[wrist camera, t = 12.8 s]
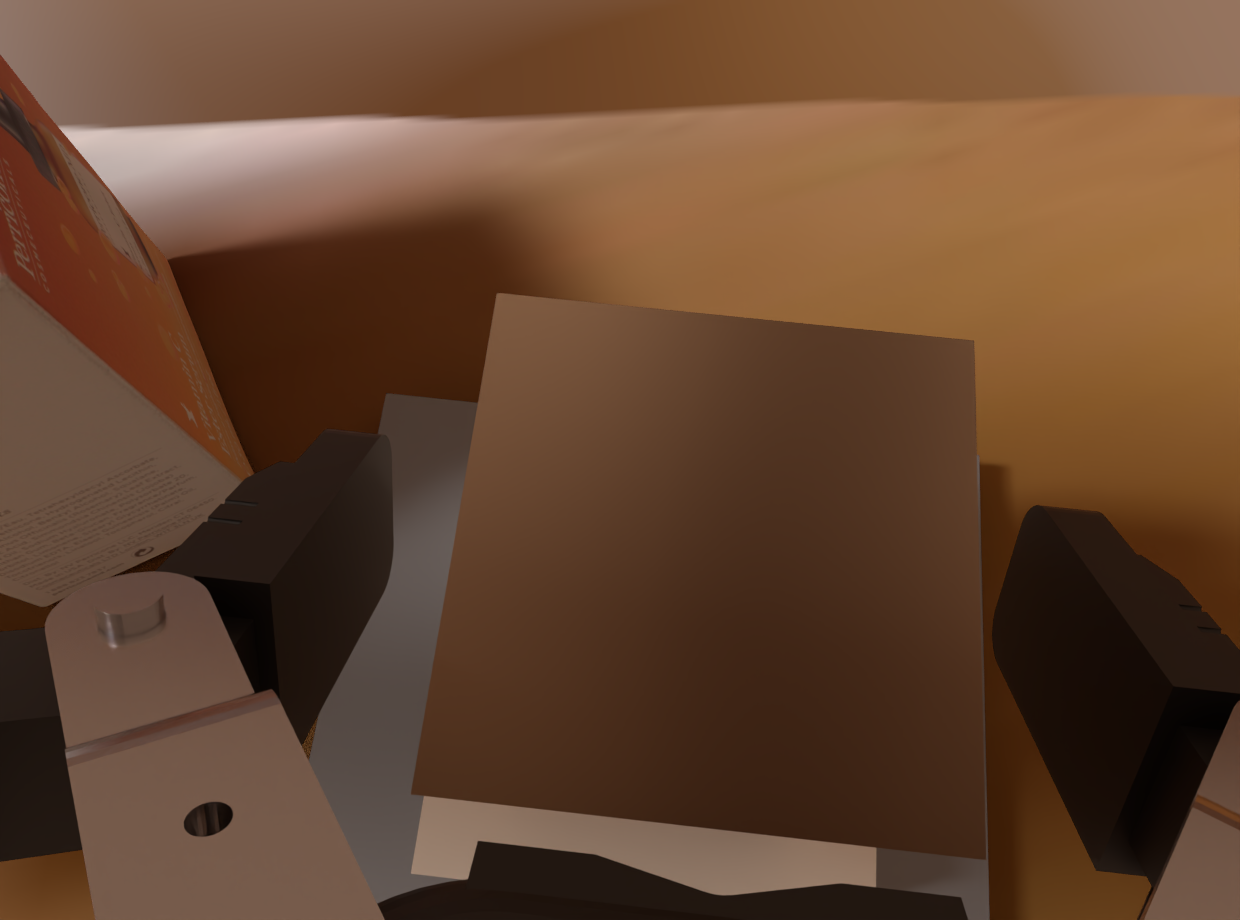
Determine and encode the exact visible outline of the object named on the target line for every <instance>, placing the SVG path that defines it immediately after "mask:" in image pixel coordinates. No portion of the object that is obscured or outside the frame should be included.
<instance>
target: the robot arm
mask: <svg viewBox="0 0 1240 920" xmlns="http://www.w3.org/2000/svg"><path fill="white" fill-rule="evenodd" d="M393 549H394V534H393V486H392V452H391V445H390V441H389V439H388V437H387V436H386V435H382V434H372V433H363V432H353V431H344V430H335V429H326V430H324V431H323V432H322V433H321V434H320V435H319V437H318V438H317V439H316V440H315V441H314V442H313V443H312V444H311V445H310V447H309V448H308V449H307V450H306V451H305V452H304V453H303V454H302V455H301V457H300V458H299V459H298V460H297V461H296V462H295V463H289V462H278V463H276V464H274V465H272V466H270V467H268V468H266V469H264V470H261V471H259V472H257V473H255V474H253V475H251V476H249V477H247V478H245V479H244V480H243V481H242V482H241V483H240V485H239V486H238V487H237V488H236V489H235V490H234V491H233V492H232V493H231V494H230V495H229V496H228V497H227V498H226V499H225V504H220V505H219V506H218V507H217V508H216V509H215V510H214V511H213V512H212V513H211V514H210V515H209V516H208V521H207V522H202V524H201V525H200V526H199V527H198V528H197V529H196V530H195V531H194V532H193V533H192V534H191V535H190V536H189V537H188V538H187V539H186V540H185V541H184V542H183V543H182V544H181V545H180V546H179V547H178V548H177V549H176V550H175V551H174V552H173V553H172V554H171V555H170V556H169V557H168V558H167V559H166V560H165V562H164V563H163V564H162V565H161V566H160V567H159V568H158V569H157V570H156V571H155V572H138V573H130V574H124V575H118V576H114V577H110V578H106V579H103V580H100V581H97V582H95V583H92V584H90V585H87V586H85V587H83V588H81V589H79V590H77V591H75V592H73V593H72V594H70V595H69V596H67V597H66V598H64V599H63V600H62V601H60V602H59V603H58V604H57V605H56V606H55V607H54V608H53V609H52V611H51V612H50V614H49V615H48V617H47V620H46V623H45V627H44V628H36V629H26V630H14V631H2V632H0V862H1V861H8V860H15V859H22V858H28V857H35V856H42V855H49V854H56V853H63V852H70V851H77V850H83V854H84V860H85V865H86V871H87V876H88V882H89V887H90V893H91V898H92V904H93V909H94V915H95V920H968V918H967V915H966V911H965V908H964V905H963V902H962V898H961V897H955V896H946V895H938V894H929V893H921V892H912V891H904V890H895V889H887V888H878V887H869V886H861V885H852V884H844V883H838V884H829V885H820V886H811V887H802V888H793V889H783V890H774V891H765V892H756V893H747V894H737V895H716V894H711V893H707V892H704V891H701V890H698V889H695V888H692V887H689V886H686V885H684V884H681V883H678V882H675V881H672V880H669V879H666V878H663V877H660V876H657V875H654V874H651V873H648V872H645V871H642V870H640V869H637V868H634V867H631V866H628V865H625V864H622V863H619V862H616V861H613V860H610V859H607V858H604V857H601V856H599V855H596V854H587V853H579V852H570V851H562V850H553V849H545V848H536V847H528V846H519V845H511V844H502V843H493V842H485V841H478V842H477V846H476V850H475V854H474V858H473V861H472V865H471V869H470V873H469V877H468V879H465V880H457V881H449V882H445V883H440V884H436V885H431V886H426V887H422V888H418V889H415V890H412V891H409V892H406V893H403V894H400V895H397V896H394V897H391V898H388V899H386V900H384V901H382V902H380V903H376V900H375V898H374V896H373V894H372V892H371V890H370V888H369V886H368V884H367V882H366V880H365V877H364V875H363V873H362V871H361V869H360V867H359V865H358V863H357V861H356V859H355V857H354V855H353V852H352V850H351V848H350V846H349V844H348V842H347V840H346V838H345V836H344V834H343V832H342V829H341V827H340V825H339V823H338V821H337V819H336V817H335V815H334V813H333V811H332V809H331V807H330V804H329V802H328V800H327V798H326V796H325V794H324V792H323V790H322V788H321V786H320V784H319V782H318V779H317V777H316V775H315V773H314V771H313V769H312V767H311V765H310V763H309V761H308V759H307V756H306V754H305V752H304V750H303V748H302V744H303V742H304V740H305V739H306V737H307V735H308V733H309V731H310V729H311V727H312V726H313V724H314V722H315V720H316V718H317V716H318V714H319V713H320V711H321V709H322V707H323V705H324V703H325V701H326V700H327V698H328V696H329V694H330V692H331V690H332V688H333V687H334V685H335V683H336V681H337V679H338V677H339V675H340V673H341V672H342V670H343V668H344V666H345V664H346V662H347V660H348V659H349V657H350V655H351V653H352V651H353V649H354V647H355V646H356V644H357V642H358V640H359V638H360V636H361V634H362V633H363V631H364V629H365V627H366V625H367V623H368V621H369V620H370V618H371V616H372V614H373V612H374V610H375V608H376V607H377V605H378V603H379V601H380V599H381V597H382V595H383V593H384V591H385V589H386V586H387V583H388V580H389V576H390V572H391V567H392V560H393ZM1201 608H1202V606H1201V605H1200V604H1199V603H1198V602H1197V601H1196V600H1195V598H1194V597H1193V596H1192V595H1191V594H1190V593H1189V592H1188V590H1187V589H1186V588H1185V587H1184V586H1183V585H1182V583H1181V582H1180V581H1179V580H1178V579H1176V578H1175V577H1173V576H1172V575H1170V574H1169V573H1167V572H1166V571H1164V570H1163V569H1161V568H1160V567H1158V566H1157V565H1155V564H1154V563H1152V562H1151V561H1149V560H1148V559H1146V558H1145V557H1143V556H1142V555H1137V554H1136V553H1135V552H1134V551H1133V550H1132V548H1131V547H1130V546H1129V545H1128V544H1127V542H1126V541H1125V540H1124V539H1123V538H1122V536H1121V535H1120V534H1119V533H1118V532H1117V530H1116V529H1115V528H1114V527H1113V526H1112V524H1111V523H1110V522H1109V521H1108V520H1107V518H1106V517H1105V516H1104V515H1103V514H1102V513H1100V512H1096V511H1087V510H1078V509H1068V508H1059V507H1049V506H1040V505H1036V506H1033V507H1032V508H1031V509H1030V510H1029V511H1028V512H1027V514H1026V515H1025V517H1024V520H1023V522H1022V525H1021V528H1020V531H1019V534H1018V537H1017V541H1016V544H1015V547H1014V551H1013V554H1012V557H1011V560H1010V564H1009V567H1008V570H1007V574H1006V577H1005V580H1004V583H1003V587H1002V590H1001V593H1000V597H999V600H998V603H997V606H996V610H995V614H994V619H993V629H992V641H993V649H994V654H995V658H996V661H997V663H998V666H999V668H1000V670H1001V672H1002V674H1003V676H1004V678H1005V680H1006V682H1007V684H1008V687H1009V689H1010V691H1011V693H1012V695H1013V697H1014V699H1015V701H1016V703H1017V705H1018V707H1019V710H1020V712H1021V714H1022V716H1023V718H1024V720H1025V722H1026V724H1027V726H1028V728H1029V731H1030V733H1031V735H1032V737H1033V739H1034V741H1035V743H1036V745H1037V747H1038V749H1039V752H1040V754H1041V756H1042V758H1043V760H1044V762H1045V764H1046V766H1047V768H1048V770H1049V773H1050V775H1051V777H1052V779H1053V781H1054V783H1055V785H1056V787H1057V789H1058V791H1059V794H1060V796H1061V798H1062V800H1063V802H1064V804H1065V806H1066V808H1067V810H1068V812H1069V815H1070V817H1071V819H1072V821H1073V823H1074V825H1075V827H1076V829H1077V831H1078V833H1079V836H1080V838H1081V840H1082V842H1083V844H1084V846H1085V848H1086V850H1087V852H1088V854H1089V857H1090V859H1091V861H1092V863H1093V865H1094V867H1095V869H1096V871H1104V872H1113V873H1122V874H1130V875H1139V876H1147V878H1148V880H1149V882H1150V884H1151V886H1152V887H1151V889H1150V891H1149V893H1148V896H1147V898H1146V900H1145V902H1144V904H1143V906H1142V909H1141V911H1140V913H1139V915H1138V918H1137V920H1240V650H1239V649H1238V648H1237V647H1236V645H1235V644H1234V643H1233V642H1232V641H1231V640H1230V639H1229V637H1228V636H1227V635H1224V634H1221V628H1220V627H1219V626H1218V625H1217V624H1216V623H1215V621H1214V620H1213V619H1212V618H1211V617H1210V616H1209V614H1208V613H1207V612H1202V611H1201Z"/></svg>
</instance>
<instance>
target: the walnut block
mask: <svg viewBox="0 0 1240 920" xmlns="http://www.w3.org/2000/svg"><path fill="white" fill-rule="evenodd" d="M411 795H420V796H429V797H437V798H446V799H455V800H464V801H472V802H481V803H490V804H499V805H507V806H516V807H525V808H534V809H542V810H551V811H560V812H569V813H577V814H586V815H595V816H604V817H612V818H621V819H630V820H639V821H647V822H656V823H665V824H674V825H682V826H691V827H700V828H709V829H717V830H726V831H735V832H744V833H752V834H761V835H770V836H779V837H787V838H796V839H805V840H814V841H822V842H831V843H840V844H849V845H857V846H866V847H875V848H884V849H892V850H901V851H910V852H919V853H927V854H936V855H945V856H954V857H962V858H971V859H980V860H986V831H985V788H984V745H983V701H982V658H981V615H980V572H979V528H978V485H977V442H976V398H975V355H974V341H972V340H962V339H952V338H942V337H932V336H923V335H913V334H903V333H893V332H883V331H873V330H863V329H853V328H843V327H833V326H823V325H813V324H803V323H793V322H783V321H773V320H763V319H753V318H743V317H733V316H723V315H713V314H703V313H693V312H683V311H673V310H663V309H653V308H643V307H633V306H623V305H613V304H603V303H593V302H583V301H573V300H563V299H553V298H543V297H533V296H523V295H513V294H503V293H497V295H496V301H495V307H494V313H493V318H492V324H491V330H490V336H489V342H488V347H487V353H486V359H485V365H484V371H483V377H482V382H481V388H480V394H479V400H478V406H477V411H476V417H475V423H474V429H473V435H472V441H471V446H470V452H469V458H468V464H467V470H466V475H465V481H464V487H463V493H462V499H461V504H460V510H459V516H458V522H457V528H456V534H455V539H454V545H453V551H452V557H451V563H450V568H449V574H448V580H447V586H446V592H445V597H444V603H443V609H442V615H441V621H440V627H439V632H438V638H437V644H436V650H435V656H434V661H433V667H432V673H431V679H430V685H429V690H428V696H427V702H426V708H425V714H424V720H423V725H422V731H421V737H420V743H419V749H418V754H417V760H416V766H415V772H414V778H413V783H412V789H411Z"/></svg>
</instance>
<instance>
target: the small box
mask: <svg viewBox="0 0 1240 920" xmlns="http://www.w3.org/2000/svg"><path fill="white" fill-rule="evenodd" d="M253 474H254V472H253V470H252V468H251V466H250V464H249V462H248V460H247V458H246V456H245V453H244V451H243V449H242V446H241V444H240V442H239V439H238V437H237V434H236V432H235V430H234V427H233V425H232V423H231V420H230V418H229V415H228V413H227V411H226V408H225V405H224V403H223V400H222V398H221V395H220V393H219V390H218V388H217V385H216V383H215V380H214V377H213V375H212V372H211V369H210V367H209V364H208V361H207V359H206V356H205V354H204V351H203V349H202V346H201V343H200V341H199V338H198V336H197V333H196V331H195V328H194V326H193V324H192V321H191V319H190V316H189V314H188V311H187V309H186V306H185V304H184V301H183V299H182V296H181V294H180V291H179V288H178V286H177V283H176V281H175V278H174V276H173V273H172V270H171V268H170V265H169V263H168V261H167V259H166V258H165V257H164V255H163V254H162V253H161V252H160V250H159V249H158V248H157V247H156V246H155V245H154V243H153V242H152V241H151V240H150V239H149V238H148V236H147V235H146V234H145V233H144V232H143V230H142V229H141V228H140V227H139V226H138V224H137V223H136V222H135V221H134V220H133V218H132V217H131V216H130V215H129V213H128V212H127V211H126V210H125V208H124V207H123V206H122V205H121V203H120V202H119V201H118V200H117V198H116V197H115V196H114V195H113V193H112V192H111V191H110V190H109V188H108V187H107V186H106V185H105V183H104V182H103V181H102V180H101V178H100V177H99V176H98V175H97V173H96V172H95V171H94V170H93V168H92V167H91V166H90V165H89V164H88V162H87V161H86V160H85V159H84V157H83V156H82V155H81V154H80V153H79V151H78V150H77V149H76V148H75V147H74V145H73V144H72V143H71V142H70V141H69V140H68V138H67V137H66V136H65V135H64V134H63V132H62V131H61V130H60V129H59V128H58V126H57V125H56V124H55V123H54V122H53V120H52V119H51V118H50V117H49V116H48V114H47V113H46V112H45V111H44V110H43V108H42V107H41V106H40V105H39V104H38V102H37V101H36V99H35V98H34V97H33V95H32V94H31V93H30V91H29V90H28V89H27V88H26V86H25V85H24V84H23V83H22V82H21V80H20V79H19V78H18V77H17V75H16V74H15V73H14V71H13V70H12V69H11V68H10V66H9V65H8V64H7V62H6V61H5V60H4V59H3V58H2V56H1V55H0V593H2V594H5V595H7V596H10V597H13V598H16V599H19V600H22V601H25V602H28V603H31V604H34V605H37V606H40V607H46V606H49V605H51V604H53V603H55V602H57V601H59V600H61V599H63V598H66V597H67V596H69V595H70V594H72V593H73V592H75V591H77V590H79V589H81V588H83V587H85V586H87V585H90V584H92V583H95V582H97V581H100V580H103V579H106V578H110V577H112V576H114V575H116V574H119V573H121V572H123V571H125V570H127V569H130V568H132V567H134V566H136V565H138V564H140V563H142V562H144V561H147V560H149V559H151V558H153V557H155V556H158V555H160V554H162V553H164V552H166V551H169V550H171V549H173V548H175V547H178V546H180V545H181V544H182V543H183V542H184V541H185V540H186V539H187V538H188V537H189V536H190V535H191V534H192V533H193V532H194V531H195V530H196V529H197V528H198V527H199V526H200V525H201V524H202V522H207V521H208V516H209V515H210V514H211V513H212V512H213V511H214V510H215V509H216V508H217V507H218V506H219V505H220V504H225V499H226V498H227V497H228V496H229V495H230V494H231V493H232V492H233V491H234V490H235V489H236V488H237V487H238V486H239V485H240V483H241V482H242V481H243V480H244V479H245V478H247V477H249V476H251V475H253Z"/></svg>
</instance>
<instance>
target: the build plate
mask: <svg viewBox="0 0 1240 920" xmlns="http://www.w3.org/2000/svg"><path fill="white" fill-rule="evenodd" d="M477 406H478V403H475V402H466V401H456V400H447V399H437V398H428V397H418V396H409V395H399V394H389V393H386V397H385V402H384V406H383V411H382V416H381V421H380V425H379V430H378V434H382V435H386V436H387V437H388V439H389V441H390V445H391V452H392V486H393V534H394V549H393V560H392V567H391V572H390V576H389V580H388V583H387V586H386V589H385V591H384V593H383V595H382V597H381V599H380V601H379V603H378V605H377V607H376V608H375V610H374V612H373V614H372V616H371V618H370V620H369V621H368V623H367V625H366V627H365V629H364V631H363V633H362V634H361V636H360V638H359V640H358V642H357V644H356V646H355V647H354V649H353V651H352V653H351V655H350V657H349V659H348V660H347V662H346V664H345V666H344V668H343V670H342V672H341V673H340V675H339V677H338V679H337V681H336V683H335V685H334V687H333V688H332V690H331V692H330V694H329V696H328V698H327V700H326V701H325V703H324V705H323V707H322V709H321V711H320V713H319V715H318V720H317V725H316V729H315V734H314V739H313V744H312V748H311V753H310V758H309V763H310V765H311V767H312V769H313V771H314V773H315V775H316V777H317V779H318V782H319V784H320V786H321V788H322V790H323V792H324V794H325V796H326V798H327V800H328V802H329V804H330V807H331V809H332V811H333V813H334V815H335V817H336V819H337V821H338V823H339V825H340V827H341V829H342V832H343V834H344V836H345V838H346V840H347V842H348V844H349V846H350V848H351V850H352V852H353V855H354V857H355V859H356V861H357V863H358V865H359V867H360V869H361V871H362V873H363V875H364V877H365V880H366V882H367V884H368V886H369V888H370V890H371V892H372V894H373V896H374V898H375V900H376V903H380V902H382V901H384V900H386V899H388V898H391V897H394V896H397V895H400V894H403V893H406V892H409V891H412V890H415V889H418V888H422V887H426V886H431V885H436V884H440V883H445V882H449V881H457V880H465V879H468V877H469V873H470V869H471V865H472V861H473V858H474V854H475V850H476V846H477V842H478V841H485V842H493V843H502V844H511V845H519V846H528V847H536V848H545V849H553V850H562V851H570V852H579V853H587V854H596V855H599V856H601V857H604V858H607V859H610V860H613V861H616V862H619V863H622V864H625V865H628V866H631V867H634V868H637V869H640V870H642V871H645V872H648V873H651V874H654V875H657V876H660V877H663V878H666V879H669V880H672V881H675V882H678V883H681V884H684V885H686V886H689V887H692V888H695V889H698V890H701V891H704V892H707V893H711V894H716V895H737V894H747V893H756V892H765V891H774V890H783V889H793V888H802V887H811V886H820V885H829V884H838V883H844V884H852V885H861V886H869V887H878V888H887V889H895V890H904V891H912V892H921V893H929V894H938V895H946V896H955V897H961V898H962V902H963V905H964V908H965V911H966V915H967V918H968V920H990V918H989V873H988V828H987V784H986V739H985V694H984V649H983V605H982V560H981V515H980V470H979V455H977V485H978V528H979V572H980V615H981V658H982V701H983V745H984V788H985V831H986V860H980V859H971V858H962V857H954V856H945V855H936V854H927V853H919V852H910V851H901V850H892V849H884V848H875V847H866V846H857V845H849V844H840V843H831V842H822V841H814V840H805V839H796V838H787V837H779V836H770V835H761V834H752V833H744V832H735V831H726V830H717V829H709V828H700V827H691V826H682V825H674V824H665V823H656V822H647V821H639V820H630V819H621V818H612V817H604V816H595V815H586V814H577V813H569V812H560V811H551V810H542V809H534V808H525V807H516V806H507V805H499V804H490V803H481V802H472V801H464V800H455V799H446V798H437V797H429V796H420V795H411V789H412V783H413V778H414V772H415V766H416V760H417V754H418V749H419V743H420V737H421V731H422V725H423V720H424V714H425V708H426V702H427V696H428V690H429V685H430V679H431V673H432V667H433V661H434V656H435V650H436V644H437V638H438V632H439V627H440V621H441V615H442V609H443V603H444V597H445V592H446V586H447V580H448V574H449V568H450V563H451V557H452V551H453V545H454V539H455V534H456V528H457V522H458V516H459V510H460V504H461V499H462V493H463V487H464V481H465V475H466V470H467V464H468V458H469V452H470V446H471V441H472V435H473V429H474V423H475V417H476V411H477Z"/></svg>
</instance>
